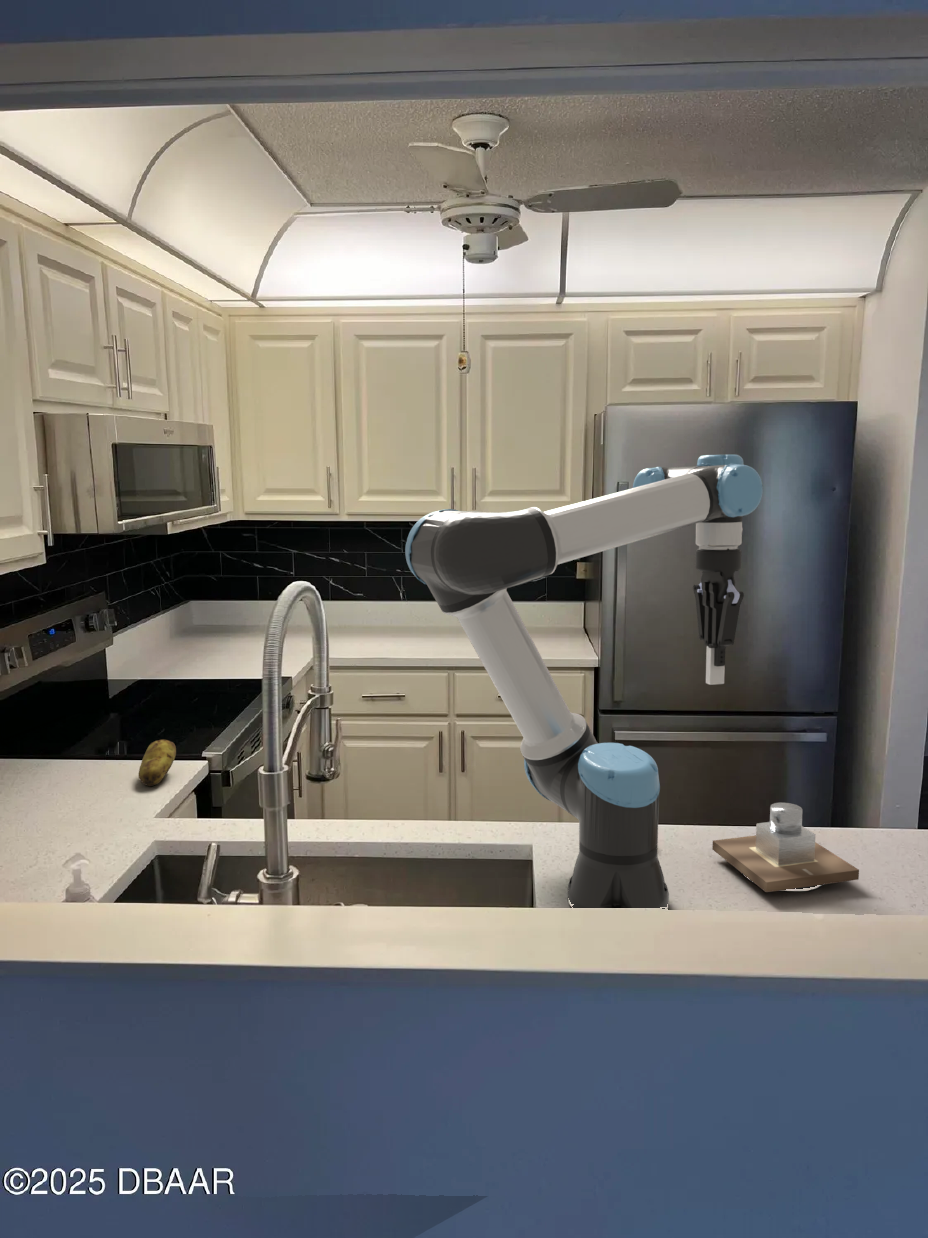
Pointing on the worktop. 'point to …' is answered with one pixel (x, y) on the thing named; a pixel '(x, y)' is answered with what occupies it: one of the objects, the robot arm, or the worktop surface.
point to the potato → (157, 762)
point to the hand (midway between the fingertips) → (714, 683)
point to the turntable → (786, 876)
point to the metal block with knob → (785, 836)
